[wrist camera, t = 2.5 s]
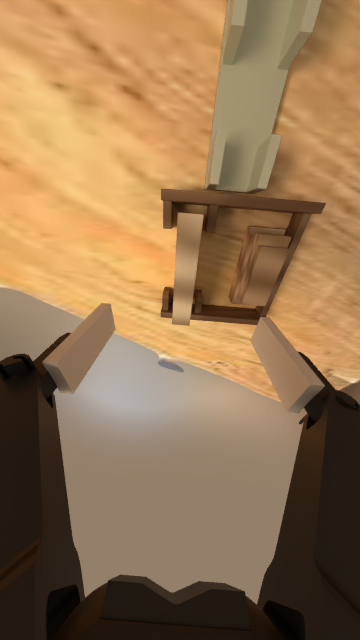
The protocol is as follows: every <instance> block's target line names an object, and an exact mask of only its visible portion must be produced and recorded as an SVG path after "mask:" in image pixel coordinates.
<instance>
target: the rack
mask: <svg viewBox="0 0 360 640" xmlns="http://www.w3.org/2000/svg"><path fill="white" fill-rule="evenodd" d="M161 200H163V228H165V229H171V228H173V205H174V203H182V204H193V205H205V206H208V207H207V215H206V222H205V229H204V230H205V231H206V232H211V233H214V230H215V224H216V218H217V212H218V207H227V208H239V209H250V210H262V211H273V212H285V213H293V215H292V217H291V220H290V223H289V225H288V228H287V230H285V229H276V228H264V227H253V226H248V227H247V231H246V235H245V238H244V242H243V246H242V250H241V253H240V257H239V261H238V264H237V268H236V272H235V275H234V279H233V283H232V287H231V290H230V294H229V299H230V301H231V303H232V304H244V305H256V309H249V308H237V307H225V306H213V305H202V300H203V296H202V290H196V294H195V301H194V304H192V308H191V316H190V320H202V321H215V322H227V323H239V324H251V325H257V324H258V322H259V319H260V317H266V314H267V312H268V310H269V308H270V306H271V303H272V301H273V299H274V297H275V294H276V292H277V290H278V288H279V286H280V283H281V281H282V279H283V277H284V274H285V272H286V270H287V268H288V266H289V263H290V261H291V259H292V257H293V254H294V252H295V250H296V248H297V245H298V243H299V241H300V239H301V237H302V234H303V232H304V230H305V228H306V225H307V223H308V221H309V219H310V217H311V214H321V212H322V210H323V208H324V206H325V204H326V203H319V202H308V201H296V200H285V199H274V198H262V197H251V196H239V195H228V194H217V193H205V192H194V191H182V190H171V189H161ZM285 231H286V233H285ZM284 233H285V235H284ZM172 316H173V302H170V287H165V288H164V292H163V298H162V310H161V317H166V318H172Z"/></svg>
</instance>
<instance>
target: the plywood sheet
mask: <svg viewBox="0 0 360 640" xmlns="http://www.w3.org/2000/svg"><path fill="white" fill-rule="evenodd" d="M203 216H204V215H201V214H190V213H178V222H177V240H176V259H175V278H174V297H173V316H172V324H176V325H188V326H189V324H190V316H191V308H192V301H193V293H194V285H195V278H196V270H197V262H198V254H199V247H200V239H201V231H202V224H203Z"/></svg>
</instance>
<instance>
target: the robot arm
mask: <svg viewBox="0 0 360 640" xmlns="http://www.w3.org/2000/svg"><path fill="white" fill-rule="evenodd" d="M114 331H115V324H114V319H113V314H112V309H111V304H106V303H101V304H100V305H99V306H98V307H97V308H96V309H95V310H94V311H93V312H92V313H91V314H90V315H89V316H88V317H87V318H86V319H85V320H84V321H83V322H82V323H81V324H80V325H79V326H78V327H77V328H76V329H75V330H74V331H73V332H72V333H66V334H64V335H63V336H61V337H59V338H58V339H57V340H56V341H55V342H54V344H52V345H51V346H50V347H49V348H47V349H46V350H45V351H44V352H43V353H42V354H41V355H40V356H39V357H38V358H37V359H35V360H34V361H32V360H31V358H30V357H29V355H27V354H17V355H13V356H10V357H7V358H5V359H4V360H2V361H0V640H360V405H359V404H358V402H357V401H356V400H355V399H353V398H352V397H351V396H349V395H348V394H346V393H344V392H341V391H338V390H335V389H334V387H333V386H332V385H331V384H330V383H329V382H328V380H327V379H326V378H325V377H324V376H323V375H322V373H321V372H320V371H319V370H318V369H317V368H316V366H315V365H313V363H312V362H311V361H310V359H309V358H308V357H306V356H305V355H304V354H302V353H301V352H297V351H296V350H295V348H294V347H293V346H292V345H291V343H290V342H289V341H288V340H287V339H286V337H285V336H284V335H283V334H282V332H281V331H280V330H279V329H278V327H277V326H276V325H275V324H274V323H273V321H272V320H271V319H270V318H269V317H260V319H259V322H258V324H257V327H256V329H255V331H254V334H253V336H252V338H251V343H252V345H253V347H254V349H255V351H256V353H257V355H258V357H259V359H260V360H261V362H262V364H263V366H264V368H265V370H266V372H267V374H268V376H269V378H270V380H271V382H272V384H273V386H274V388H275V390H276V392H277V394H278V396H279V398H280V400H281V402H282V404H283V406H284V408H285V410H286V412H295V413H299V412H300V411H301V410H302V409H303V408H305V410H306V411H307V415H305V416H304V417H303V418H302V419H301V420H300V422H299V424H302V423H303V422H304V423H303V428H302V433H301V437H300V442H299V446H298V451H297V455H296V460H295V464H294V469H293V474H292V478H291V483H290V487H289V492H288V497H287V501H286V506H285V510H284V515H283V520H282V524H281V528H280V533H279V537H278V542H277V546H276V551H275V555H274V558H273V560H272V562H271V564H270V565H269V567H268V568H267V571H266V573H265V575H264V579H263V582H262V586H261V590H260V595H259V599H258V603H257V604H255V603H254V602H253V601H252V600H250V599H249V598H248V597H247V596H245V591H242V590H239V589H237V588H235V587H232V586H230V585H227V584H225V583H215V582H202V581H199V582H196V583H194V584H192V585H190V586H187V587H185V588H183V589H181V590H178V591H176V592H174V593H171V592H169V591H167V590H166V589H164V588H163V587H161V586H159V585H158V584H156V583H155V582H153V581H152V580H150V579H148V578H147V577H141V576H129V575H119V576H117V577H115V578H112V579H110V580H109V581H108V583H106V584H104V585H102V586H101V587H99V588H97V589H96V590H94V591H93V592H92V593H90V594H89V595H88V596H87V597H86V598H85V594H84V587H83V580H82V574H81V566H80V560H79V557H78V553H77V551H76V548H75V546H74V543H73V538H72V530H71V523H70V515H69V506H68V498H67V491H66V483H65V475H64V467H63V459H62V451H61V444H60V435H59V427H58V419H57V411H56V403H55V396H54V394H53V392H54V391H55V389H56V388H58V389H59V391H60V393H69V394H73V393H74V392H75V390H76V389H77V387H78V386H79V384H80V383H81V381H82V380H83V378H84V377H85V375H86V373H87V372H88V370H89V369H90V367H91V366H92V364H93V363H94V361H95V360H96V358H97V357H98V355H99V354H100V352H101V351H102V349H103V348H104V346H105V344H106V343H107V341H108V340H109V338H110V337H111V335H112V334H113V332H114Z"/></svg>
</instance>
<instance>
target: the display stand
mask: <svg viewBox="0 0 360 640" xmlns="http://www.w3.org/2000/svg"><path fill="white" fill-rule="evenodd" d="M321 1H322V0H228V1H227V9H226V17H225V25H224V34H223V42H222V50H221V58H220V66H219V74H218V82H217V91H216V99H215V107H214V115H213V123H212V131H211V140H210V148H209V156H208V164H207V172H206V180H205V188H204V189H207V190H218V191H230V192H241V193H252V194H254V193H256V192H258V191H261V190H264V189H267V185H268V182H269V178H270V175H271V171H272V168H273V165H274V161H275V158H276V154H277V151H278V148H279V144H280V141H281V137H282V135H278V134H272V130H273V126H274V122H275V119H276V115H277V111H278V107H279V104H280V100H281V96H282V92H283V89H284V85H285V81H286V77H287V74H288V70H289V66H290V65H291V63H292V62H293V60H294V59H295V57H296V56H297V54H298V53H299V51H300V50H301V48H302V47H303V45H304V44H305V42H306V41H307V40H308V38H309V37H310V35H311V34H312V32H313V28H314V25H315V22H316V18H317V15H318V11H319V8H320V4H321Z"/></svg>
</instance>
